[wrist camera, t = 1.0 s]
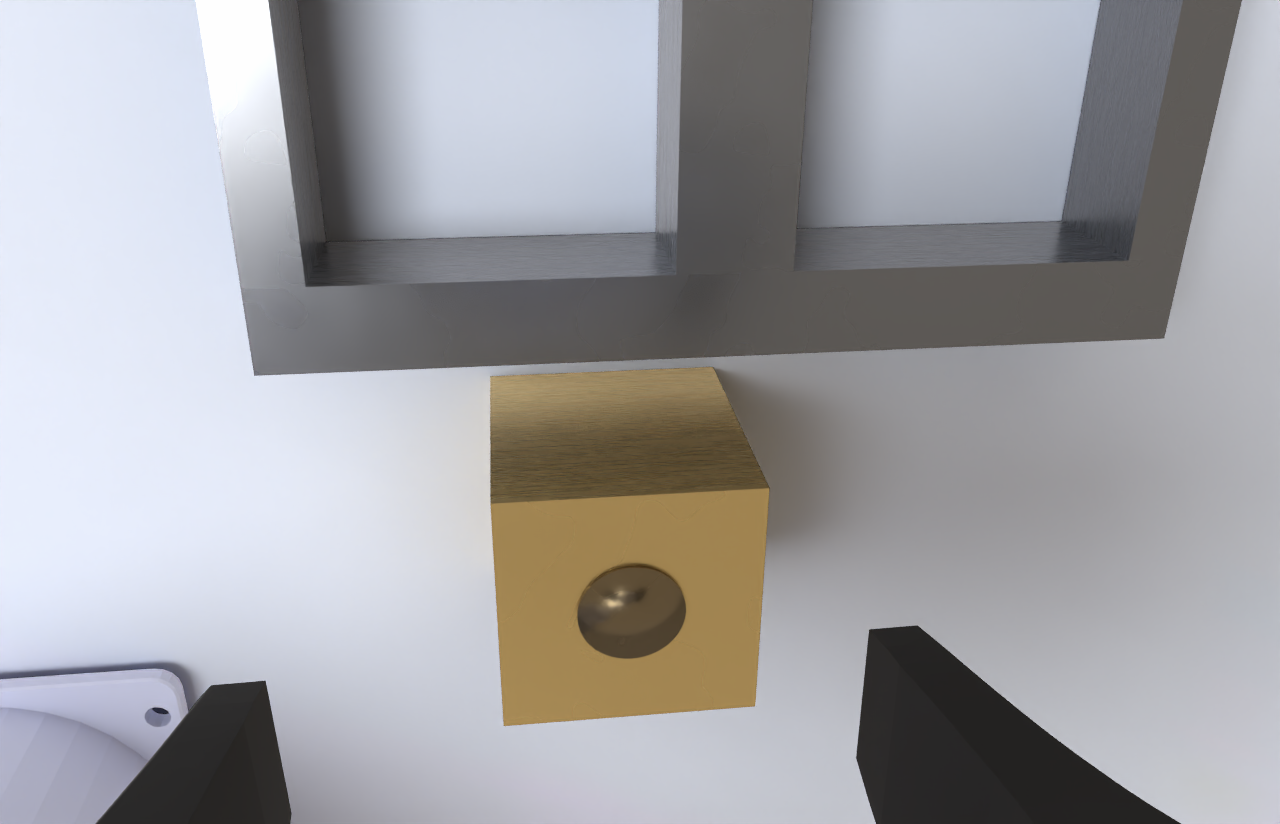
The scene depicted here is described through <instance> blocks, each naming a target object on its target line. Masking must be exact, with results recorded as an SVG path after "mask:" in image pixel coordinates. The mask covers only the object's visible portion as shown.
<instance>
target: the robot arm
mask: <svg viewBox="0 0 1280 824" xmlns="http://www.w3.org/2000/svg"><path fill="white" fill-rule="evenodd" d="M154 707H158V708H163V709H165V710H167V711H168V712H169V714H158V713H156V712H155V711H153V710H152V708H154ZM856 759H857V762H858V765H859V769H860V772H861V776H862V779H863V783H864V786H865V789H866V793H867V796H868V800H869V803H870V806H871V809H872V812H873V815H874V818H875V822H876V824H1180V823H1179V822H1177V821H1176V820H1174V819H1172V818H1171V817H1169V816H1167V815H1166V814H1164V813H1163V812H1161V811H1159V810H1158V809H1156V808H1154V807H1153V806H1151V805H1150V804H1148V803H1146V802H1145V801H1143V800H1142V799H1140V798H1139V797H1137V796H1136V795H1134V794H1133V793H1131V792H1130V791H1128V790H1127V789H1125V788H1124V787H1122V786H1121V785H1119V784H1118V783H1116V782H1115V781H1113V780H1112V779H1111V778H1109V777H1108V776H1106V775H1105V774H1104V773H1102V772H1101V771H1099V770H1098V769H1097V768H1095V767H1094V766H1092V765H1091V764H1089V763H1088V762H1087V761H1085V760H1084V759H1082V758H1081V757H1080V756H1078V755H1077V754H1075V753H1074V752H1073V751H1071V750H1070V749H1069V748H1067V747H1066V746H1065V745H1063V744H1062V743H1061V742H1059V741H1058V740H1057V739H1055V738H1054V737H1053V736H1051V735H1050V734H1049V733H1048V732H1046V731H1045V730H1044V729H1042V728H1041V727H1040V726H1039V725H1037V724H1036V723H1035V722H1033V721H1032V720H1031V719H1030V718H1028V717H1027V716H1026V715H1025V714H1023V713H1022V712H1021V711H1020V710H1018V709H1017V708H1016V707H1015V706H1013V705H1012V704H1011V703H1010V702H1009V701H1007V700H1006V699H1005V698H1004V697H1002V696H1001V695H1000V694H999V693H998V692H996V691H995V690H994V689H993V688H992V687H990V686H989V685H988V684H987V683H986V682H984V681H983V680H982V679H981V678H980V677H978V676H977V675H976V674H975V673H974V672H972V671H971V670H970V669H969V668H968V667H966V666H965V665H964V664H963V663H962V662H961V661H959V660H958V659H957V658H956V657H955V656H953V655H952V654H951V653H950V652H949V651H948V650H946V649H945V648H944V647H943V646H942V645H941V644H939V643H938V642H937V641H936V640H935V639H933V638H932V637H931V636H930V635H928V634H927V633H926V632H925V631H924V630H922V629H921V628H920V627H919V626H906V627H894V628H882V629H871V630H869V637H868V647H867V657H866V667H865V677H864V687H863V696H862V706H861V716H860V726H859V736H858V746H857V756H856ZM290 820H291V809H290V804H289V799H288V793H287V788H286V783H285V778H284V773H283V768H282V763H281V758H280V753H279V747H278V742H277V737H276V732H275V727H274V722H273V717H272V712H271V706H270V701H269V696H268V691H267V686H266V681H258V682H246V683H234V684H222V685H211V686H210V687H209V688H208V689H207V690H206V691H205V693H204V694H203V695H202V696H201V697H200V698H199V700H198V701H197V702H196V703H195V704H194V706H193V707H192V708H191V709H190V711H189V712H188V708H187V703H186V699H185V694H184V689H183V685H182V683H181V681H180V679H179V678H178V677H177V676H176V675H174V674H173V673H172V672H169V671H167V670H164V669H140V670H126V671H111V672H97V673H83V674H69V675H54V676H40V677H26V678H11V679H0V824H290Z"/></svg>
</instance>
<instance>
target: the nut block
mask: <svg viewBox="0 0 1280 824" xmlns="http://www.w3.org/2000/svg"><path fill="white" fill-rule="evenodd" d="M490 440H491V519H492V536H493V553H494V570H495V586H496V603H497V620H498V637H499V654H500V670H501V687H502V704H503V721H504V726H510V725H523V724H535V723H548V722H561V721H574V720H586V719H599V718H612V717H624V716H637V715H650V714H663V713H675V712H688V711H701V710H713V709H726V708H739V707H752V706H755V700H756V685H757V670H758V655H759V640H760V625H761V610H762V595H763V579H764V564H765V549H766V534H767V519H768V504H769V489H770V488H769V486H768V484H767V482H766V480H765V477H764V475H763V473H762V471H761V469H760V467H759V465H758V462H757V460H756V458H755V456H754V454H753V452H752V450H751V448H750V445H749V443H748V441H747V439H746V437H745V435H744V433H743V430H742V428H741V426H740V424H739V422H738V420H737V418H736V415H735V413H734V411H733V409H732V407H731V405H730V403H729V400H728V398H727V396H726V394H725V392H724V390H723V388H722V385H721V383H720V381H719V379H718V377H717V375H716V373H715V371H714V368H713V367H699V368H675V369H652V370H629V371H605V372H582V373H558V374H535V375H512V376H490Z"/></svg>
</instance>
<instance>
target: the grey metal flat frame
mask: <svg viewBox="0 0 1280 824" xmlns="http://www.w3.org/2000/svg"><path fill="white" fill-rule="evenodd" d="M1241 1H1242V0H1101V4H1100V9H1099V15H1098V21H1097V26H1096V32H1095V37H1094V43H1093V49H1092V54H1091V60H1090V66H1089V71H1088V77H1087V82H1086V88H1085V94H1084V99H1083V105H1082V110H1081V116H1080V122H1079V127H1078V133H1077V139H1076V144H1075V150H1074V155H1073V161H1072V167H1071V172H1070V178H1069V184H1068V189H1067V195H1066V200H1065V206H1064V212H1063V217H1062V222H1028V223H991V224H955V225H919V226H882V227H846V228H810V229H797V215H798V201H799V187H800V173H801V159H802V145H803V131H804V117H805V103H806V89H807V75H808V61H809V47H810V33H811V19H812V5H813V0H659V35H658V104H657V172H656V233H628V234H592V235H555V236H519V237H483V238H446V239H410V240H374V241H337V242H326V236H325V227H324V219H323V210H322V202H321V194H320V185H319V177H318V168H317V160H316V152H315V143H314V135H313V126H312V118H311V110H310V101H309V93H308V84H307V76H306V68H305V59H304V51H303V42H302V34H301V26H300V17H299V9H298V1H297V0H196V6H197V12H198V19H199V25H200V32H201V38H202V44H203V51H204V57H205V64H206V70H207V76H208V83H209V89H210V95H211V102H212V108H213V115H214V121H215V127H216V134H217V140H218V146H219V153H220V159H221V166H222V172H223V178H224V185H225V191H226V197H227V204H228V210H229V217H230V223H231V229H232V236H233V242H234V249H235V255H236V261H237V268H238V274H239V280H240V287H241V293H242V300H243V306H244V312H245V319H246V325H247V331H248V338H249V344H250V351H251V357H252V363H253V370H254V376H257V375H281V374H306V373H330V372H354V371H379V370H403V369H428V368H452V367H477V366H501V365H525V364H550V363H574V362H599V361H623V360H648V359H672V358H696V357H721V356H745V355H770V354H794V353H819V352H843V351H868V350H892V349H916V348H941V347H965V346H990V345H1014V344H1039V343H1063V342H1087V341H1112V340H1136V339H1161V338H1164V336H1165V332H1166V327H1167V323H1168V319H1169V314H1170V310H1171V306H1172V301H1173V297H1174V293H1175V288H1176V284H1177V280H1178V275H1179V271H1180V267H1181V262H1182V258H1183V254H1184V249H1185V245H1186V240H1187V236H1188V232H1189V227H1190V223H1191V219H1192V214H1193V210H1194V206H1195V201H1196V197H1197V193H1198V188H1199V184H1200V180H1201V175H1202V171H1203V167H1204V162H1205V158H1206V153H1207V149H1208V145H1209V140H1210V136H1211V132H1212V127H1213V123H1214V119H1215V114H1216V110H1217V106H1218V101H1219V97H1220V93H1221V88H1222V84H1223V80H1224V75H1225V71H1226V67H1227V62H1228V58H1229V53H1230V49H1231V45H1232V40H1233V36H1234V32H1235V27H1236V23H1237V19H1238V14H1239V10H1240V6H1241Z"/></svg>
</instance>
